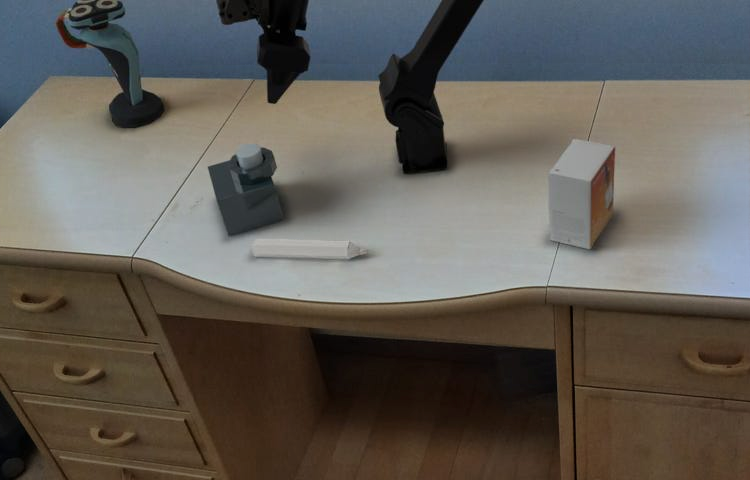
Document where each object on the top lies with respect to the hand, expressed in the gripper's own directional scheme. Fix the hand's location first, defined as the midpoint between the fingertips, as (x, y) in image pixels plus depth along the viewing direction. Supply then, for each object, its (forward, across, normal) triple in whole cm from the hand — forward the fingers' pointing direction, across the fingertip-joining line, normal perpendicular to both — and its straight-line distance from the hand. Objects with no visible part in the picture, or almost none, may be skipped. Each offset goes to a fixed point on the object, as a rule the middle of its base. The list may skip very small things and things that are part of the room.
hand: (270, 85), depth 124 cm
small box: (+2, +22, +40) cm, 45 cm away
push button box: (+18, +4, 0) cm, 18 cm away
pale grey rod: (+15, +17, +8) cm, 24 cm away
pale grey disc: (+10, +4, -1) cm, 11 cm away
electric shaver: (+25, -31, -18) cm, 44 cm away
